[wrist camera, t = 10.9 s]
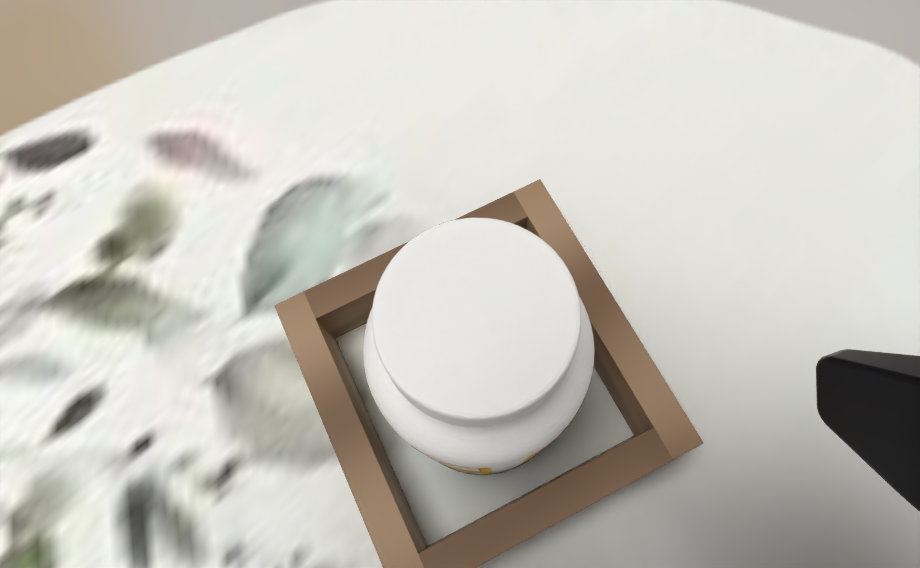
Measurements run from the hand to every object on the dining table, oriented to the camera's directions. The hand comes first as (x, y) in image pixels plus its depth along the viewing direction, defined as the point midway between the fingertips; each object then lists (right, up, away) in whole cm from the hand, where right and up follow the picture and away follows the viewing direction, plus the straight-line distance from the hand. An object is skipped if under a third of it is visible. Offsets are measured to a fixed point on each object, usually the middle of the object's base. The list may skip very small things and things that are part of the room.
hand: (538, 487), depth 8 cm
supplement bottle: (0, -1, +13) cm, 13 cm away
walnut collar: (0, -1, +13) cm, 13 cm away
